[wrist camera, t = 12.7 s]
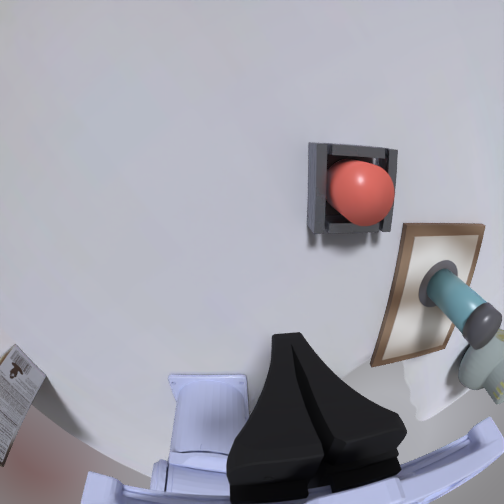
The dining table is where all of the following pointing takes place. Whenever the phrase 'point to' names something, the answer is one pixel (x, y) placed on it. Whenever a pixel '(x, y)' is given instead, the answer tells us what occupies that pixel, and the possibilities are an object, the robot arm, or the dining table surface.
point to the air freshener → (485, 368)
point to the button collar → (318, 186)
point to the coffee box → (15, 394)
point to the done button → (359, 191)
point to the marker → (464, 308)
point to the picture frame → (424, 288)
